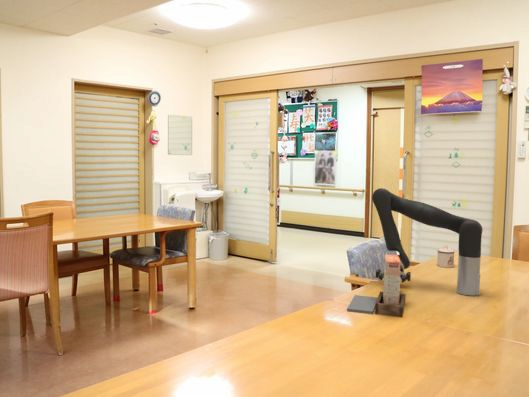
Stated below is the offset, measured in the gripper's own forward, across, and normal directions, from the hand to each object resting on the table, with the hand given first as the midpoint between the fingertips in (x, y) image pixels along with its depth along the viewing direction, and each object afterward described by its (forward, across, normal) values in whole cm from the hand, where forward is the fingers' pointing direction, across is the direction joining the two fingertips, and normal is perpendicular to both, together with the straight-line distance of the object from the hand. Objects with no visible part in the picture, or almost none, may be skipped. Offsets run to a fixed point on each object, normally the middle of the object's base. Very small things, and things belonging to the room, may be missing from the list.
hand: (391, 279), depth 198 cm
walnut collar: (+2, 0, +12) cm, 12 cm away
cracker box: (+2, 0, +12) cm, 12 cm away
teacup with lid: (-89, +23, +12) cm, 92 cm away
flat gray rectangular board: (+2, -11, +12) cm, 16 cm away
